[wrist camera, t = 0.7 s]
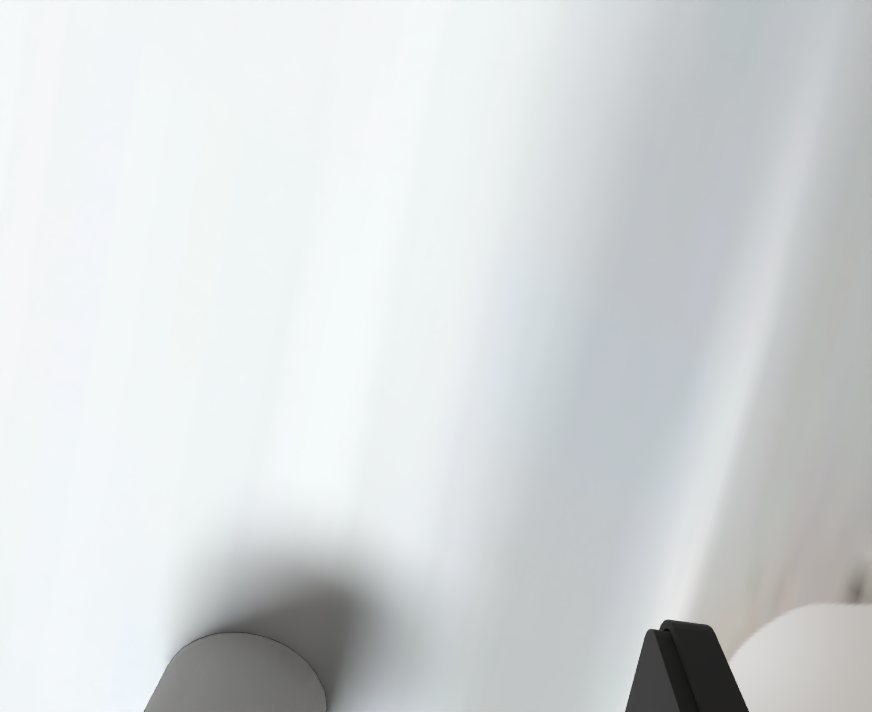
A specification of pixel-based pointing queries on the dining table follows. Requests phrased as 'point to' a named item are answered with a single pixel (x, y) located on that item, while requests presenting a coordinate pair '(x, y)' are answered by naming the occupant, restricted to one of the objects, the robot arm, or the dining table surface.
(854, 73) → the dining table surface
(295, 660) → the coffee mug
